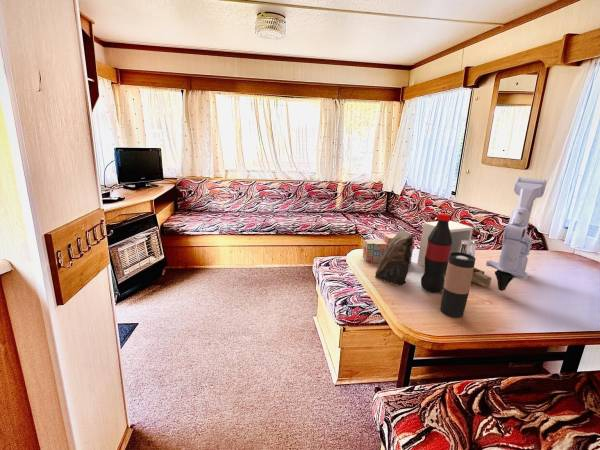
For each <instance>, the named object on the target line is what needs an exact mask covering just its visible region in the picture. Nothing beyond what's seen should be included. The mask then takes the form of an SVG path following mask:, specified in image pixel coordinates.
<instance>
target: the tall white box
mask: <svg viewBox="0 0 600 450" xmlns="http://www.w3.org/2000/svg"><path fill="white" fill-rule="evenodd" d="M437 223H438V220H437V221H436V220H435V221H428V222H423V226H422V230H421V231H422V232H421V238H420V245H419V251H418V258H417V264H418V265H420V266H422V267H424V268H425V255H426V249H427V243H428V237H429V235H430V233H431V232H432V230H433V229H434V228H435V226H436V225H437ZM448 224H449V229H450V232H451V236H452V241H453V242H452V246H451V251H450V253H453V252H456V251H457V247H458V243H459V241H460V240H468V241H472V236H473V231H474V227H472V226H470V225H468V224H463V223H460V222H457V221H454V220H453V221H452V220H450V222H448Z"/></svg>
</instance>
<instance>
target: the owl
mask: <svg viewBox="0 0 600 450" xmlns="http://www.w3.org/2000/svg"><path fill="white" fill-rule="evenodd" d="M413 238H414V239H415V236H414V235H413V234H411V233H410V232H407V231H406V229H404V228H401V229H399V230H398V232H397V233H396V235H395V236H394V237H393V239H392V240H391V241H390V242H389V244H388V246H387V249H386V250H385V252H384V254H383V256H382V258H381V260H380V262H378V265H377V268H376V271H375V276H374V278H375V277H376V279H378V278H379V280H382V281H384V280H385V282H387V281H388V283H390V282H392V283H391V284H394V285H396V284H397V285H396V286H404V285H406V283H407V281H406V279H407V276H408V274H409V269H410V268H409V267H410V265H411V264H410V260H409V259H410V257H411V247H412V245H414V244H413V241H412V240H413ZM411 258H412V257H411ZM403 284H404V285H403Z"/></svg>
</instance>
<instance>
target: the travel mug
mask: <svg viewBox="0 0 600 450" xmlns="http://www.w3.org/2000/svg"><path fill="white" fill-rule="evenodd" d="M475 264H476V257H475V256H474V257H473V256H471V255H469V254H465V253H459V252H453V253H450V255H449V260H448V266H447V271H446V274H445V275H444V279H445V281H444V286H443V290H442V293H441V300H440V307H439V311H440V312H441V313H442V315H445V316H446V317H450V318H454V319H458V318H462V317H464V314H465V309H466V306H467V302H468V298H469V294H470V291H471V283H472V281H471V280H472V275H473V270H474V268H475Z"/></svg>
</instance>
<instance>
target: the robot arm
mask: <svg viewBox="0 0 600 450" xmlns="http://www.w3.org/2000/svg"><path fill="white" fill-rule="evenodd" d="M546 186H547V180H546V179H541V178H540V179H539V178H529V177H521V176H518V177H516V180H515V183H514V186H513V187H514V189H513V191H514V193H515V195H518V196H519V197H518V201H517V202H518V203H517V208H514V209H513V210H512V212H511V214H510V218H509V221H508V224H506V225H505V227H504V231H503V236H502V237H503V238H502V246H501V252H500V255H499V259H498V262H497V261H493V260H486V264H485V266H486V267H491V268H493V269H496V270H495V271H494V274H495V277H496V280H497V290H499V291H501V292H502V291H505V290H506V289H507V287H508V285H509V284H510V282H511V281H512V280H514V279H515V277H516V278H517V279H520V280H522V281H527V280H528V278H529V274H528V273H527V272H526V269H527V264H528V261H529V259H528V256H529V255H530V253H531V249H532V244H533V243H532V241H533V239H532V237H531V236H530V235H529V234H528V233H527V232H528V227H529V223H530V217H531V215H532V214H531V213H532V210H533V206H534V202H535V200H536V199H538V198H542V197H544V194H545V190H546Z"/></svg>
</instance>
